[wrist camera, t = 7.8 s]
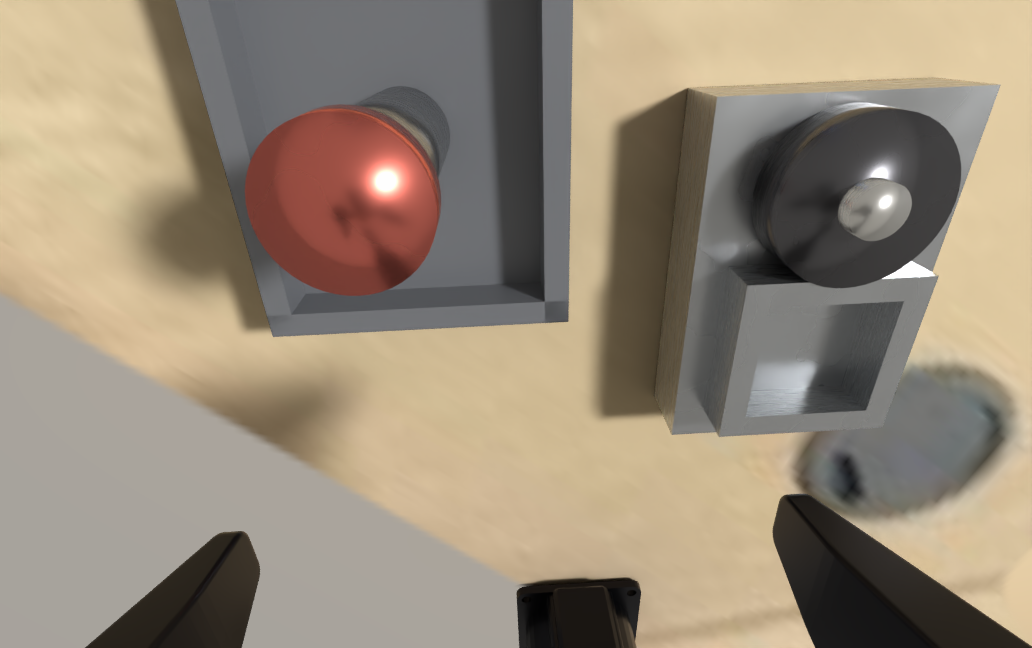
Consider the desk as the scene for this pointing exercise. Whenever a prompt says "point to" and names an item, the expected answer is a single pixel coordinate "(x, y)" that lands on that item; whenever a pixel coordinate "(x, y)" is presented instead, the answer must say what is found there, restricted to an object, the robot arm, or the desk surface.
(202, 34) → the tray
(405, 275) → the lock pin
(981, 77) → the desk surface
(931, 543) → the desk surface
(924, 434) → the desk surface
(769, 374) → the tensioner block
